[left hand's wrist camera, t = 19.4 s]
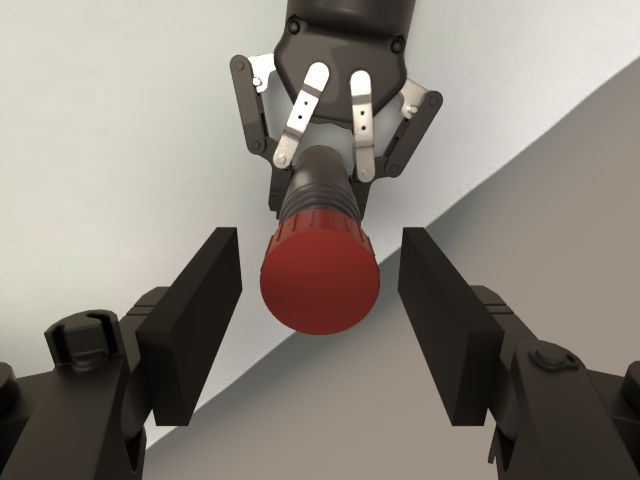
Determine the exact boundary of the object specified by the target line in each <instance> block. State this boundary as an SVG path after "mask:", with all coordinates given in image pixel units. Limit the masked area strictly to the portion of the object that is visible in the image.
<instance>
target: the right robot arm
mask: <svg viewBox="0 0 640 480" xmlns="http://www.w3.org/2000/svg"><path fill="white" fill-rule="evenodd" d="M415 1H416V0H288V4H287V13H286V22H285V29H284V33H283V35H282V38H281V40H280V41H279V43H278V44H277V46H276V47H275V50H274V53H273V54H268V55H261V56H255V57H249V58H247V57H244V56H242V55H236V56H234V57H233V58H232V59H231V61H230V69H231V74H232V79H233V83H234V88H235V92H236V97H237V102H238V106H239V111H240V116H241V120H242V125H243V130H244V134H245V139H246V144H247V148H248V150H249V151H250V152H251V153H252V154H256V155H259V156H261V157H263V158H265V159H266V160H268V161H269V162H270V164H271V166H272V177H271V185H270V194H269V203H268V204H269V207H270V211H277V215H276V219H277V220H279V217H280V211H281V208H282V205H283V202H284V199H285V196H286V193H287V190H288V187H289V184H290V182H291V179H292V176H293V172H294V166H292V159H293V156H294V154H295V151H296V149H297V147H298V145H299V142H300V140H301V138H302V136H303V133H304V131H305V129H306V127H307V124H308V122H311V123H317V124H323V123H333V124H336V125H338V126H340V127H342V128H346V129H350V131H351V141H352V149H353V161H354V170H353V175H349V182H350V184H351V187H352V190H353V193H354V196H355V199H356V202H357V205H358V208H359V211H360V217H361V221H362V219H363V217H364V212H365V208H366V203H367V198H368V194H369V189H370V186H371V184H372V182H373V181H374V180H376V179H378V178H383V177H388V176H389V177H392V178H395V177H398V176H399V175H400V174H401V173H402V171H403V170H404V168H405V166H406V164H407V163H408V161H409V159H410V158H411V156H412V154H413V153H414V151H415V149H416V148H417V146H418V144H419V143H420V141H421V139H422V138H423V136H424V134H425V132H426V131H427V129H428V127H429V126H430V124H431V122H432V121H433V119H434V117H435V116H436V114H437V112H438V111H439V109H440V107H441V105H442V103H443V97H442V95H441V94H440V93H439V92H437V91H428V90H426V89H425V88H423V87H421V86H420V85H418V84H416V83H414V82H413V81H411V80H409V79H408V78H407V70H406V66H405V61H404V52H405V46H406V42H407V37H408V33H409V28H410V24H411V19H412V15H413V10H414V6H415ZM274 71H277V73H278V75H279V77H280V79H281V81H282V83H283V85H284V87H285V89H286V91H287V93H288V95H289V97H290V99H291V101H292V103H293V105H294V108H293V110H292V112H291V115H290V117H289V119H288V122H287V124H286V127H285V129H284V132H283V135H282V137H281V139H280V142H277V141H275V140H274V139H272V138H270V137H269V133H268V128H267V123H266V117H265V112H264V107H263V102H262V96H261V92H264V91H266V90H267V89H268V87H269V78H270V75H271V74H272V73H273V72H274ZM398 93H399V94H400V96H401V105H400V108H399V111H400V114H401V116H403V117H404V118H403V120H402V122H401V124H400V125H399V127H398V129H397V131H396V133H395V134H394V136H393V138H392V140H391V141H390V143H389V145H388V147H387V149H386V150H385V152H384V154H383V156H381V157H375V158H374V133H373V118H374V117H375V116H376V115H377V114H378V113H379V112H380V111H381V110H382V109H383V108H384V107H385V106H386V105H387V104H388V103H389V102H390V101H391V100H392V99H393V98H394V97H395V96H396V95H397V94H398Z"/></svg>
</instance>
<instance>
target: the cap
mask: <svg viewBox="0 0 640 480" xmlns="http://www.w3.org/2000/svg"><path fill="white" fill-rule="evenodd" d="M260 271H261V275H260V288H261V293H262V297H263V299H264V302H265V304H266V306H267V307H268V309H269V310H270V312H271V313H272V314H273V315H274V316H275V317H276V318H277V319H278V320H279V321H280V322H281V323H283V324H284V325H286V326H288V327H289V328H291V329H294V330H296V331H299V332H302V333H306V334H312V335H328V334H334V333H338V332H341V331H344V330H346V329H348V328H350V327H352V326H354V325H355V324H357V323H358V322H360V321H361V320H362V319H363V318H364V317H365V316H366V315H367V314H368V313H369V312H370V310H371V309H372V307H373V305H374V304H375V301H376V299H377V296H378V293H379V287H380V277H379V272H380V271H379V268H378V265H377V262H376V259H375V254H374V251H373V248H372V245H371V242H370V239H369V237H367V236H366V234H365V233H364V231H363V230H362V228H361V226H360V224H359V223H358V224H357V223H356V222H355V221H354V220H352V219H351V218H350V217H348V216H347V214H342V213H340V212H337V211H333V210H331V209H313V208H312V209H311V210H307V211H303V212H300V213H298V214H297V213H295V214H294V216H292V217H290V218H289V219H287V220H286V221H285V222H284V223H281V225H280V227H279V228H278V229H277V231H276V232H275V234H274V236H273V235H272V236H271V239H270V242H269V245H268V248H267V251H266V254H265V258H264V261H263V264H262V267H261V270H260Z"/></svg>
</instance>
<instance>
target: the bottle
mask: <svg viewBox="0 0 640 480" xmlns="http://www.w3.org/2000/svg"><path fill="white" fill-rule="evenodd" d="M312 208H313V209H331V210H333V211H337V212H340V213H342V214H347V216H348V217H350V218H351V219H352V220H354V221H355V222H356V223H357V224H358V223H359V224H360V226H361V217H360V211H359V208H358V205H357V202H356V199H355V196H354V193H353V190H352V187H351V184H350V182H349V179H348V176H347V173H346V170H345V167H344V164H343V161H342V159H341V157H340V156H339V154H338V153H337V152H336V151H335V150H333V149H332V148H330V147H327V146H323V145H318V146H313V147H310V148H308V149H307V150H305V151H304V152H303V153H302V154H301V156H300V157H299V159H298V161H297V164H296V167H295V170H294V173H293V176H292V179H291V182H290V184H289V187H288V190H287V193H286V196H285V199H284V202H283V205H282V208H281V211H280V217H279V227H280V225H281V223H284V222H285V221H286V220H287V219H289V218H290V217H292V216H294V214H295V213H297V214H298V213H300V212H303V211H307V210H311V209H312Z"/></svg>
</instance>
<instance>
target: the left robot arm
mask: <svg viewBox="0 0 640 480" xmlns="http://www.w3.org/2000/svg"><path fill="white" fill-rule="evenodd" d="M241 292H242V280H241V269H240V258H239V247H238V236H237V227H217V228H216V229H215V230H214V232H213V233H212V234H211V235H210V237H209V238H208V239H207V241H206V242H205V243H204V244H203V246H202V247H201V248H200V249H199V251H198V252H197V253H196V254H195V256H194V257H193V258H192V260H191V261H190V262H189V263H188V265H187V266H186V267H185V268H184V270H183V271H182V272H181V274H180V275H179V276H178V277H177V279H176V280H175V281H174V282H173V284H172V285H171V286H170V287H156V288H154V289H152V290H151V291H149V292H147V293H146V294H144V295H143V296H142V297H141V298H140V299H139V300H138V301H137V302H136V303H135V305H134V307H132V308H131V309H130V310H129V311H128V312H127V314H126V316H124V317H123V318H122V319H121V320H120V321H119V322H118V318H117V315H116V314H115V313H113V312H112V311H108V310H102V309H100V310H88V311H84V312H80V313H76V314H73V315H71V316H68V317H66V318H63V319H61V320H60V321H58V322H56V323H55V324H53V325H51V326H50V327H49V328H48V330H47V331H46V332H45V333H44V335H45V338H46V341H47V344H48V347H49V350H50V353H51V355H52V358H53V361H54V364H55V367H54V369H53V371H50V372H46V373H41V374H36V375H31V376H27V377H22V378H17V379H16V377H15V375H14V372H13V370H12V367H11V366H9V365H8V364H7V363H3V362H0V480H142V473H143V465H144V457H145V449H146V441H147V438H146V431H145V427H144V423H145V421H146V419H147V417H148V416H149V414H150V412H151V410H152V409H153V414H154V418H155V422H156V426H188V424H189V422H190V419H191V417H192V414H193V412H194V409H195V407H196V404H197V402H198V399H199V397H200V394H201V392H202V389H203V387H204V384H205V382H206V379H207V377H208V374H209V372H210V369H211V367H212V364H213V362H214V359H215V357H216V354H217V352H218V349H219V347H220V344H221V342H222V340H223V337H224V335H225V332H226V330H227V327H228V325H229V322H230V320H231V317H232V315H233V312H234V310H235V307H236V305H237V302H238V300H239V297H240V295H241ZM398 292H399V294H400V297H401V300H402V302H403V305H404V307H405V310H406V312H407V315H408V317H409V319H410V322H411V325H412V327H413V330H414V332H415V335H416V337H417V339H418V342H419V344H420V347H421V349H422V352H423V354H424V357H425V359H426V362H427V364H428V367H429V369H430V372H431V374H432V377H433V379H434V382H435V384H436V387H437V389H438V392H439V394H440V397H441V399H442V402H443V404H444V407H445V409H446V412H447V414H448V417H449V419H450V422H451V424H452V426H484V422H485V418H486V414H487V409H488V408H489V410H490V412H491V413H492V415H493V417H494V419H495V421H496V427H495V431H494V436H493V440H492V444H491V448H490V452H489V457H488V463H491V464H493V461H494V457H495V456H496V464H497V472H498V480H640V361H635V362H633V363H632V364H630V365H629V367H628V370H627V372H626V375H625V377H621V376H617V375H612V374H607V373H602V372H597V371H592V370H588V369H586V367H585V365H584V364H583V363H582V361H581V360H580V359H579V358H578V357H577V356H576V355H574V354H573V353H571V352H570V351H569V350H567V349H565V348H563V347H561V346H558V345H556V344H553V343H550V342H546V341H542V340H538V339H537V338H536V336H535V335H534V334H533V333H532V332H531V331H530V330H529V329H528V327H527V326H526V325H525V324H524V323H523V322H522V321H521V320H520V319H519V317H518V316H517V315H514V312H513V311H512V310H511V309H510V307H509V306H507V305H506V303H505V302H504V301H503V300H502V299H501V297H500V296H499V295H498V294H497V293H495V292H493V291H491V290H490V289H488V288H486V287H485V286H469V285H468V284H467V282H466V281H465V280H464V279H463V277H462V276H461V275H460V274H459V272H458V271H457V270H456V268H455V267H454V266H453V265H452V263H451V262H450V261H449V260H448V258H447V257H446V256H445V254H444V253H443V252H442V251H441V249H440V248H439V247H438V246H437V244H436V243H435V242H434V241H433V239H432V238H431V237H430V235H429V234H428V233H427V232H426V230H425V229H424V228H423V227H403V236H402V247H401V258H400V269H399V280H398Z"/></svg>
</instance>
